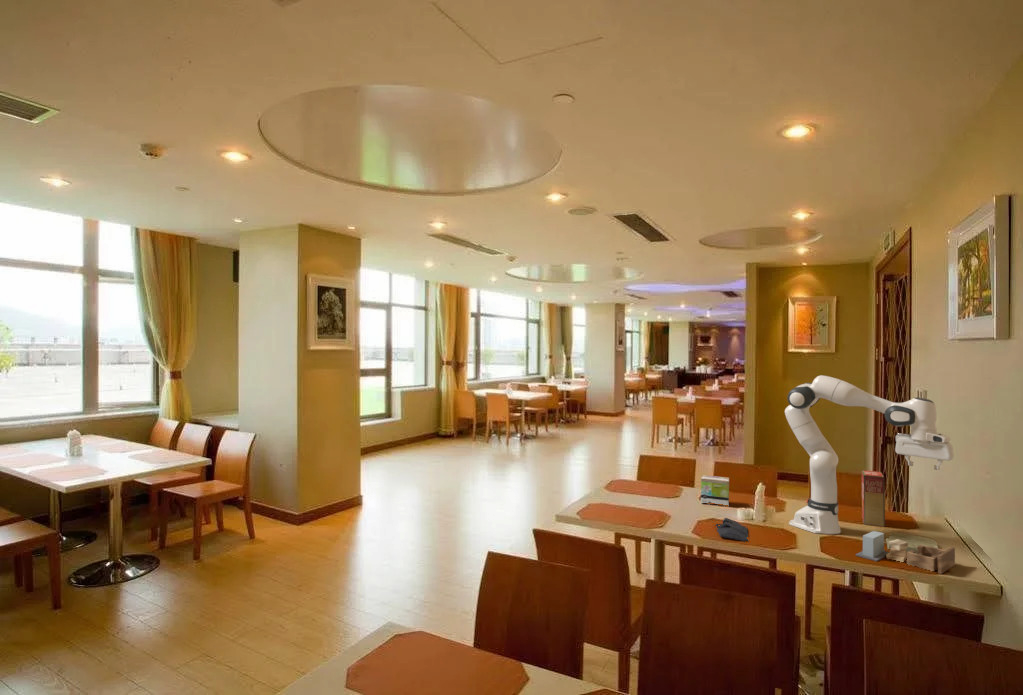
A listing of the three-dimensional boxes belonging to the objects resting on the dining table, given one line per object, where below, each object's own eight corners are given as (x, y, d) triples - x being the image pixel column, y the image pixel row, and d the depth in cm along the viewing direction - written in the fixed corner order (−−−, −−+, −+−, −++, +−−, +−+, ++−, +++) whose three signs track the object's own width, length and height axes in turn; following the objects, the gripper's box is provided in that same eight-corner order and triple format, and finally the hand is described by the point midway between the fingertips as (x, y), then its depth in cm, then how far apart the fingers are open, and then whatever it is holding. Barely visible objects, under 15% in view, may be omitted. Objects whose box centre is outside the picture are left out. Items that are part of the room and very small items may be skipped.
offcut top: (889, 547, 231) (889, 541, 231) (897, 545, 234) (897, 539, 234) (899, 550, 228) (899, 544, 228) (907, 548, 230) (907, 542, 230)
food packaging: (861, 517, 287) (861, 469, 287) (882, 520, 282) (882, 471, 283) (863, 524, 275) (863, 474, 275) (885, 527, 271) (885, 476, 271)
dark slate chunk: (714, 539, 254) (714, 529, 254) (715, 525, 274) (715, 515, 274) (750, 543, 248) (750, 533, 248) (748, 529, 269) (748, 519, 269)
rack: (906, 564, 223) (906, 547, 223) (921, 556, 233) (921, 539, 233) (941, 574, 214) (941, 556, 214) (954, 564, 223) (954, 547, 223)
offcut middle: (890, 555, 229) (890, 549, 229) (891, 549, 235) (891, 543, 235) (905, 557, 226) (905, 551, 226) (906, 552, 232) (906, 546, 232)
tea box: (700, 504, 310) (700, 478, 310) (701, 499, 320) (701, 474, 320) (728, 507, 305) (729, 480, 305) (729, 502, 314) (729, 476, 314)
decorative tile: (935, 546, 246) (935, 538, 246) (940, 560, 230) (940, 551, 230) (885, 537, 257) (885, 530, 257) (886, 550, 240) (886, 542, 240)
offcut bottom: (886, 560, 230) (886, 554, 230) (893, 554, 236) (893, 548, 236) (903, 564, 225) (903, 558, 225) (910, 558, 232) (910, 552, 232)
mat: (855, 555, 233) (855, 554, 233) (870, 548, 242) (870, 546, 242) (876, 561, 226) (876, 560, 226) (891, 553, 235) (891, 552, 235)
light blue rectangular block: (862, 554, 233) (862, 535, 233) (873, 549, 239) (873, 530, 239) (873, 557, 229) (873, 538, 229) (884, 551, 236) (884, 533, 236)
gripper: (892, 433, 242) (892, 464, 242) (949, 439, 226) (949, 472, 226) (898, 432, 246) (898, 462, 246) (954, 438, 229) (954, 470, 229)
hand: (923, 467), depth 236 cm, fingers open, 8 cm apart
